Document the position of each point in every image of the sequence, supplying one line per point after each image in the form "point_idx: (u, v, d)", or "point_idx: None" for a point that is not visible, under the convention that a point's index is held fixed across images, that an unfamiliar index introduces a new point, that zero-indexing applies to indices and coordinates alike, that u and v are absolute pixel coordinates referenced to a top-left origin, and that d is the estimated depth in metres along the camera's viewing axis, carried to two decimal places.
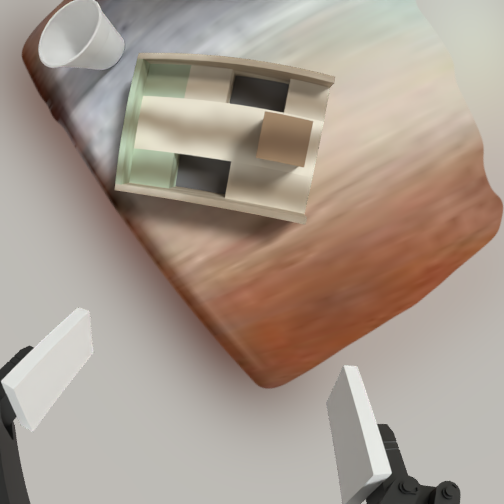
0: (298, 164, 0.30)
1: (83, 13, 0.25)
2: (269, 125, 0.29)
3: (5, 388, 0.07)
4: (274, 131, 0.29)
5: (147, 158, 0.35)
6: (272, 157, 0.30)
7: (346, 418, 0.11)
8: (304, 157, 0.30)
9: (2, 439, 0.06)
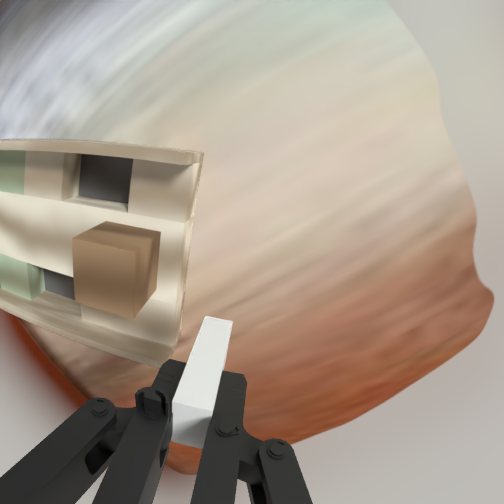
0: (125, 314, 0.20)
1: None
2: (80, 259, 0.18)
3: (175, 407, 0.10)
4: (87, 267, 0.19)
5: (7, 264, 0.25)
6: (92, 303, 0.20)
7: None
8: (131, 306, 0.19)
9: (152, 471, 0.07)
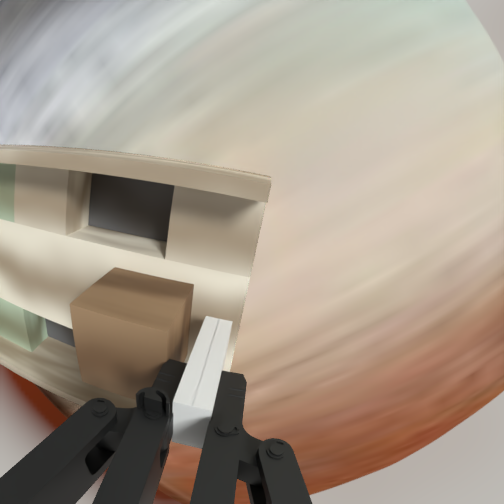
0: None
1: None
2: (84, 333, 0.12)
3: (175, 407, 0.10)
4: (95, 344, 0.13)
5: None
6: (105, 386, 0.13)
7: None
8: None
9: (152, 471, 0.07)
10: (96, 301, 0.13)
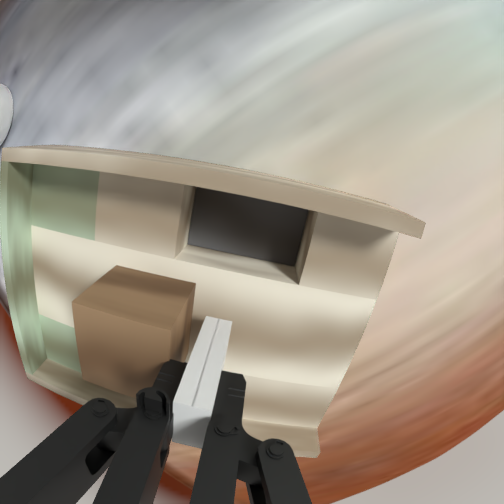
0: None
1: None
2: (86, 331, 0.13)
3: (176, 407, 0.10)
4: (97, 343, 0.13)
5: (60, 333, 0.19)
6: (107, 384, 0.14)
7: None
8: None
9: (152, 472, 0.07)
10: (98, 299, 0.13)
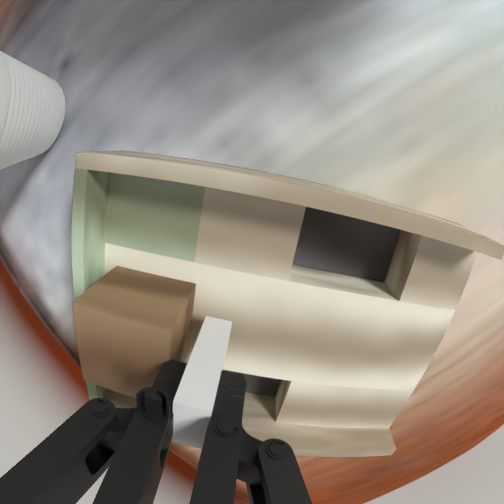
0: None
1: None
2: (86, 331, 0.13)
3: (176, 408, 0.10)
4: (98, 343, 0.13)
5: None
6: (107, 384, 0.14)
7: None
8: None
9: (152, 472, 0.07)
10: (98, 300, 0.13)
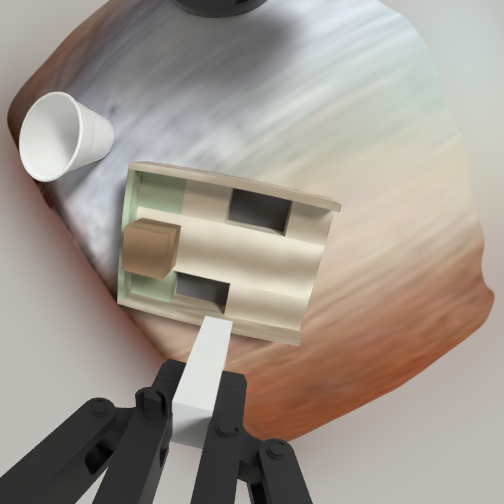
0: (157, 277, 0.32)
1: (64, 103, 0.27)
2: (129, 240, 0.31)
3: (175, 407, 0.10)
4: (134, 245, 0.31)
5: None
6: (134, 270, 0.32)
7: None
8: (162, 270, 0.31)
9: (151, 471, 0.07)
10: (136, 226, 0.31)
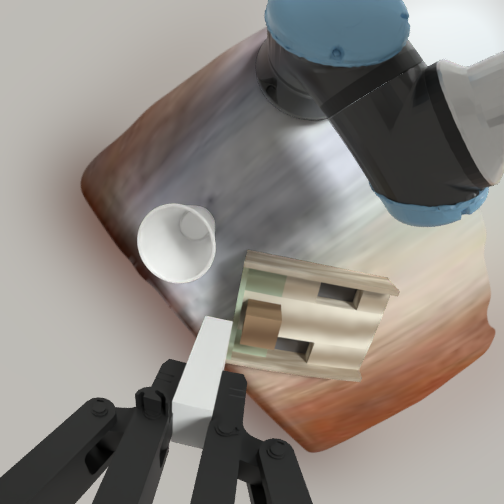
0: (270, 348, 0.42)
1: None
2: (249, 324, 0.41)
3: (175, 407, 0.10)
4: (253, 328, 0.41)
5: None
6: (251, 344, 0.42)
7: None
8: (274, 344, 0.42)
9: (151, 471, 0.07)
10: (254, 313, 0.42)
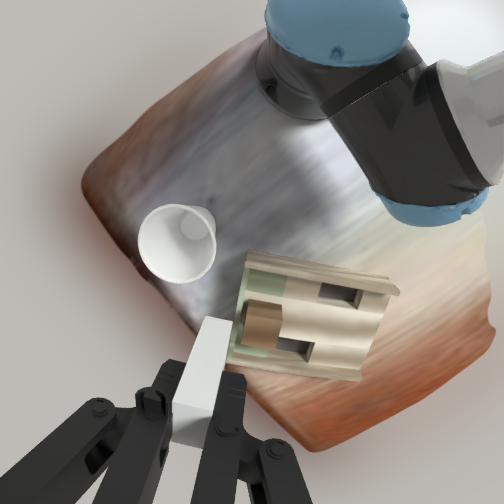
0: (270, 348, 0.42)
1: None
2: (250, 324, 0.41)
3: (175, 407, 0.10)
4: (253, 328, 0.41)
5: None
6: (252, 344, 0.42)
7: None
8: (275, 344, 0.42)
9: (151, 471, 0.07)
10: (254, 313, 0.42)
